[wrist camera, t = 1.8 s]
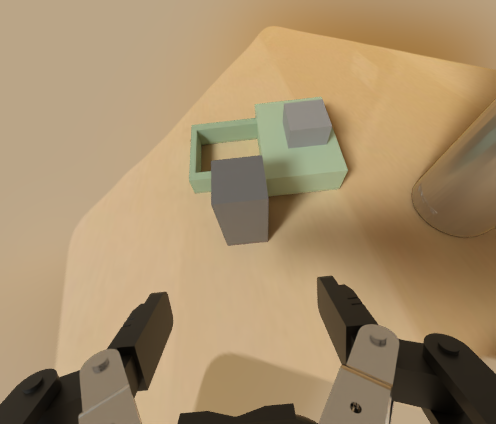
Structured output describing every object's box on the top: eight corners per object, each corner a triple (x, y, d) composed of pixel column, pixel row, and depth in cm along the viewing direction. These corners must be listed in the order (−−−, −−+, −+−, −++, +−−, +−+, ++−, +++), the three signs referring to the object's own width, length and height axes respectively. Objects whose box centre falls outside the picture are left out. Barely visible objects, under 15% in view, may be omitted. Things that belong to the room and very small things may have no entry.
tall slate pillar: (263, 206, 32) (262, 155, 23) (267, 241, 29) (268, 198, 21) (226, 210, 32) (211, 160, 23) (227, 245, 29) (211, 204, 21)
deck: (316, 118, 39) (325, 77, 33) (339, 189, 32) (356, 153, 26) (197, 132, 39) (184, 93, 33) (194, 204, 33) (178, 172, 27)
